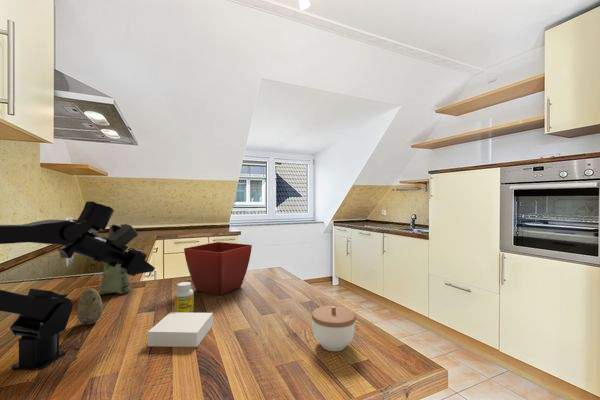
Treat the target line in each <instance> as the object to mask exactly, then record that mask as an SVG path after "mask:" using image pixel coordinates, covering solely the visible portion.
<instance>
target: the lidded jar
mask: <svg viewBox="0 0 600 400" xmlns="http://www.w3.org/2000/svg"><path fill="white" fill-rule="evenodd" d="M356 318H357V317H356V314H355V312H354V311H353V310H351V309H349V308H348V307H343V306H337V305H325V306H319V307H317V308H314V310H313V311H312V312H311V319H312V320H311V322H312V323H311V324H312V332H313V335H314V337H315V340H316V341H317V342H318V343H319V344H320V346H321V348H323V349H324V350H327V351H328V352H340V351H344V350H345V348H346V347H347V346H348V345H349V344H351V342H352V340H353V337H354V335H355V330H356Z"/></svg>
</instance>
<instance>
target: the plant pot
mask: <svg viewBox="0 0 600 400" xmlns="http://www.w3.org/2000/svg"><path fill="white" fill-rule="evenodd" d="M252 247H253V245H252V244H245V243H235V242H223V241H216V242H211V243H205V244H200V245H199V244H198V245H194V246H189V247H185V248H183V251H184V252H183V253H184V257H185V261H186V266H187V270H188V273H189V276H190V278H191V281H192V283H193V286H194V289H195V290H196V291H198V292H202V293H206V294H207V293H208V294H211V295H217V296H221V295H224V294H226V293H229V292H231V291H233V290H236V289H238V288H241V287H242V285H243V283H244V280H245V277H246V274H247V271H248V268H249V264H250V260H251V254H252V253H251V252H252Z"/></svg>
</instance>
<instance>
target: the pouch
mask: <svg viewBox="0 0 600 400" xmlns="http://www.w3.org/2000/svg"><path fill="white" fill-rule="evenodd" d="M109 236H110V229H109V230H108V235H107V238H108V237H109ZM120 266H121V264H116V266H115V267H113V266H110V265H108V264H105V263H104V267H103V270H102V271H103V272H102V278H101V280H100V281H101V282H100V287H99V291H98V293H99V295H106V294H107V295H108V294H121V295H122V294H126V293H129V292H130V291H131V289H132V287H131V283H130V280H129V276H128V274H126V273H124V272H122V271H121V269H120Z"/></svg>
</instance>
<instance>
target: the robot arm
mask: <svg viewBox="0 0 600 400" xmlns="http://www.w3.org/2000/svg"><path fill="white" fill-rule="evenodd" d="M114 212H115V211H114V208H112V207H110V206H106V205H104V204H102V203H98V202H95V201H91V200H90V201H89V200H88V201H86V202H85V204H84V206H83V209H82V210H81V213H80V214H79V217H78V218H77V219H45V220H39V221H38V220H37V221H34V222H33V221H32V222H29V223H23V224H0V245H7V244H23V243H32V244H33V243H34V244H42V245H43V244H44V245H56V246H57V245H58V246H62V247H59V248H58V249H57V251H58V252H59V256H60V259H72V257H73V255H74V254H77V255H79V256H82V257H85V258H88V259H92V260H94V261H96V262H97V263H103V264H104V265H105V264H108V265H110V266H113V267H115V266H116V264H121V266H120V269H121V271H122V272H124V273H126V274H127V275H129V276H131V277H135V276H137V275H140V274H146V273H152V272H154V271H155V269H156V268H155V267H154V266H153V265H152V264H151V263H150V262H148V261H147V260H146V259H147V253H145V252H142V251H139V250H138V249H137V250H136V249H134V248H133V249H131V250H129V251H128V252H127V249H128V247H129V246H127V245H128V244H129V243H130V242H131V241H132V240H133V239H135V238H136V237H138V235H139V232H137V230H136V229H135V228H134V227H133V226H132V225H130V224H126V223H124V224H120V226H119V225H118V224H117V225H116V224H112V225H110V227H109V229H110V236H109V235H108V236H109V237H108V236H107V237H105V236H103V237H102V236H99V235H98V234H99V233H100V232H104V231H105V230H106V228H107V226H108V224H109V222H110V220H111V218H112V216H113V214H114ZM72 311H73V301H72V300H71V299H70V298H68V294H67V293H58V292H57V293H56V292H54V291H51V290H48V289H36V288H30V289H29V291H28V293H27V294H22V293H17V292H12V291H7V290H2V289H0V312H4V313H5V312H6V313H9V314H12V315H13V316H16V317H17V319H15V321H14V322H13V323H12V324H11V325H10V326H9V329H10V331H11V333H12V335H13V336H21V337H20V338H18V361H17V362H16V363H14V364H13V365H11V366H10V369H11V370H42V369H44V368H45V367H47V366H48V365H50V364H51V363H52V362H54V361H56V360H57V359H60V358H61V357H62V356H64V355H65V354H66V350H60V333H62V332H65V331H66V328H67V326H68V323H69V319H70V316H71V314H72Z"/></svg>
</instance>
